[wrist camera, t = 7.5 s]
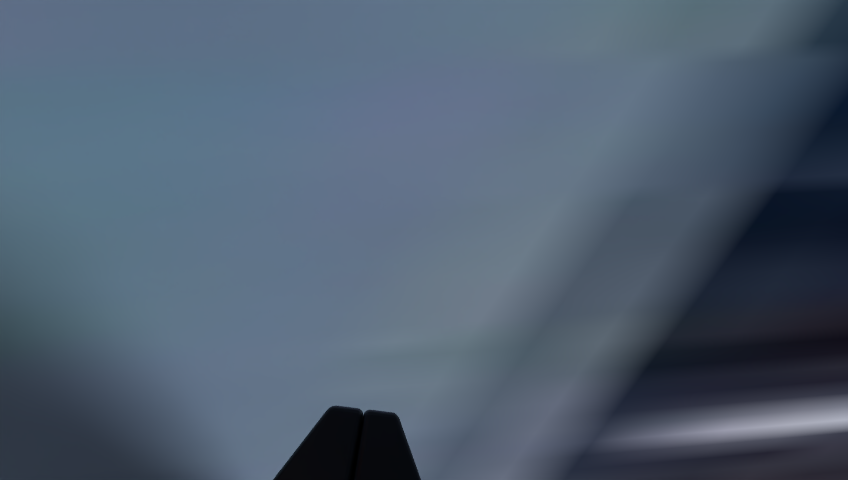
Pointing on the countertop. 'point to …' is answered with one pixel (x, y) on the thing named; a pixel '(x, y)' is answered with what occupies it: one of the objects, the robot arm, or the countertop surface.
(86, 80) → the countertop surface
